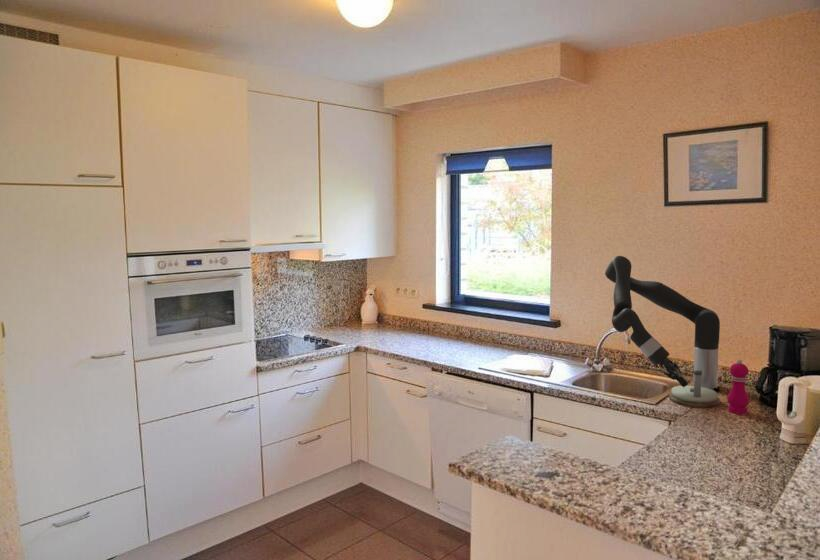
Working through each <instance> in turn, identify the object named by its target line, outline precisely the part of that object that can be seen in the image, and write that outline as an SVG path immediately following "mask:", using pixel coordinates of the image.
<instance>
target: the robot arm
mask: <svg viewBox="0 0 820 560" xmlns="http://www.w3.org/2000/svg"><path fill="white" fill-rule="evenodd" d="M631 273H632V262H631V261H630V259H628V258H627V257H626V256H624V255H616V256H614V257H613V258H612V259H611V260H610V262H609V263H608V265H607V268H606V269H605V271H604V275H605V277H606V278H607V280H609V281H610V282H612V283H614V284H615V285H614V289H613V306H614V309H613V310H612V316H611V317H612V318H611V324H612V327H613V329H615V330H616V331H617V332H619V333H625V332H627V331H629V329H630V328H632V333H631V334H630V335H629V336H630V340H631V341H632V342H633V343H634V345H636V346H637V348H639V350H640V352H641V353H642V354H643V355H644V356H645V357H646V358H647V359H648V361H649V362H650V363H651V364H652V365H653V366H654V367H656V366H659V367H661V369H662V373H663V374H664V375H665V376H666V377H668V378H669V379H671V380H673V381H677V382H678V384H680V386H683V387H685V386H689V385H688V384H689V382H688V380H686V379H685V377H683V373H682V371H681V369H680V368H679V366H678V364H677V362H675V361H673V360H671V359H669V358H668V357H669V356H670V353H669V352H668V350H667V349H666V348H665V347H664V346H663V345H662V344H661V343H660V341H658V340H657V339H656V338H655V337H653V336H652V334H651V333H649V331H647V329H646V327H645V326H644V323H642V321H641V319H640V317H639V315H638V314H637V313H636V312H635V310H633V304H632V296H631V291H632V292H634V293H636V294H637V295H639V296H641V297H643V298H644V299H646V300H648V301H649V302H652V303H653V304H655V305H657V306H658V307H660V308H662V309H664V310H667V311H670V312H672V313H675V314H678V315H681V316H682V317H684V318H686V319H687V320H688V321H690V322H692V323H693V324H694V325H695V326H694V343H693V344H694V345H693V348H694V349H693V350H694V351H693V353H694V354H693V372H694V371H695V370H698V371H702V375H701V387H704V388H708V389H711V390H715V389H714V388H716V389H718V375H719V374H718V373H719V372H718V371H719V370H718V369H719V347H720V346H719V344H720V329H721V325H720V324H721V321H720V318H719V316H718V314H717V312H715V311H713V310H712V309H709V308H707V307H704V306H702V305H700V304H698V303H695V302H694V301H692V300H690V299H688V298H687V297H685V296H684V295H683V294H681V293H679V292H678V291H676V290H675V289H673V288H671V287H670V286H668V285H666V284H664V283H662V282H660V281H656V280H655V281H654V280H653V281H652V280H640V279H637V278H633V277H631V275H632V274H631ZM692 382H693V383H692V384H693V385H692V386H694V375H693V380H692Z"/></svg>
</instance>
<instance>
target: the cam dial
mask: <svg viewBox="0 0 820 560" xmlns="http://www.w3.org/2000/svg"><path fill="white" fill-rule="evenodd" d="M701 375H702V371H698V370H695V371H694V370H693V376H694V386H693V385H687V386H685V387H683V386H682V385H677V386H673V387H672V388H671V392H672V393H671V392H670V393H671V394H672V396H673V397H675V398H677V399H680V400H684V401H689V402H697V403H708V402H714V401H716V400H717V397H718V392H717V391H715V389H708V388H704V387H701Z"/></svg>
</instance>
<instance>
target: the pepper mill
mask: <svg viewBox="0 0 820 560" xmlns="http://www.w3.org/2000/svg"><path fill="white" fill-rule="evenodd" d="M729 371H730V372H729V373H730V374H731V376H730V378H731V381H732V386H731V388H730V390H729V392H728V394H727V397H726V399H727V403H728V404H729V405H727V406H728V407H727V410H728V412H729V413H731V414H735V415H746V414H747V413H748V405H749V404H750V397H749V395H748V393H747V390H746V388H745V387H746V382H747V378H748V377H747V376H748V374H749V367H748V366H747V365H746V364H744V363H743V360H742V359H737V360H736V363H733V364H731V366H730V368H729Z"/></svg>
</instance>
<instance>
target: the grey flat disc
mask: <svg viewBox="0 0 820 560" xmlns="http://www.w3.org/2000/svg"><path fill="white" fill-rule="evenodd" d="M671 393H672V391H671V392H669V394H668V395H669V396H668V399H669V401H671V402H672V403H673V404H676V405H680V406H683V407H684V406H685V407H688V408H690V407H691V408H698V409H706V408H707V409H708V408H710V409H711V408H717V407H718V406H719V405H720V398H719V397H718V396H717V400H716V401H714V402H708V403H697V402H689V401H684V400H680V399H677V398H675V397H673V396H672V394H671Z"/></svg>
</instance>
